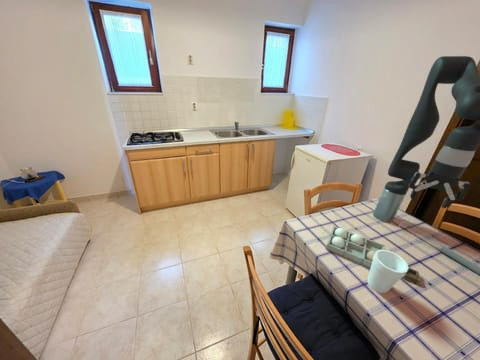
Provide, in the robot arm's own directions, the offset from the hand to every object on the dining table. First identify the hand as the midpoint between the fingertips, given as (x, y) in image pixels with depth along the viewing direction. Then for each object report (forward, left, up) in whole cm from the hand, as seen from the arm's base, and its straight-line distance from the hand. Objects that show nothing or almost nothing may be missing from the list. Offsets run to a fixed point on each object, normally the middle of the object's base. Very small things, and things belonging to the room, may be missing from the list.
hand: (427, 203), depth 71 cm
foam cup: (+19, -6, -28) cm, 35 cm away
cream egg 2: (+9, -22, -25) cm, 35 cm away
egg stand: (+8, +4, -28) cm, 29 cm away
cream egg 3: (+2, -16, -25) cm, 29 cm away
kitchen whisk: (-16, +16, -29) cm, 37 cm away
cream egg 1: (+2, -22, -25) cm, 34 cm away
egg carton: (+6, -16, -28) cm, 33 cm away
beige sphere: (+9, -9, -25) cm, 28 cm away
